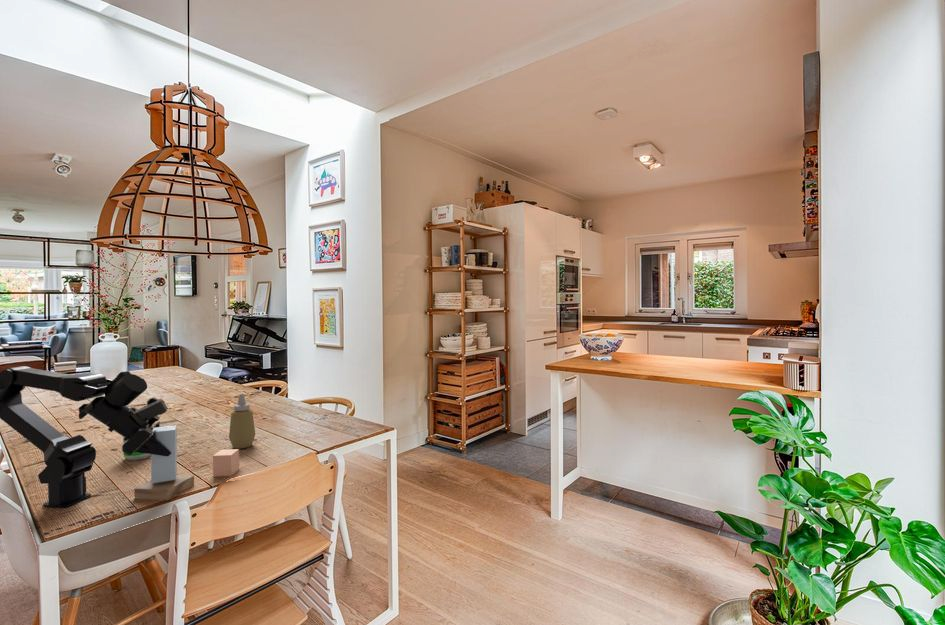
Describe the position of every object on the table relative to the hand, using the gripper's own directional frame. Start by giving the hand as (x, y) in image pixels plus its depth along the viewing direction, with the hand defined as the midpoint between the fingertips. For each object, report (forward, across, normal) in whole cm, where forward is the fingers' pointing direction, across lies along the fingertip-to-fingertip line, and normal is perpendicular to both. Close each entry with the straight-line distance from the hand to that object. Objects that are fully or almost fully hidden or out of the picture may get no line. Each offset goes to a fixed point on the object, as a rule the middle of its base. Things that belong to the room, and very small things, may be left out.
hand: (170, 451), depth 113 cm
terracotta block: (+16, +6, -2) cm, 17 cm away
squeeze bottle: (+20, +29, -5) cm, 36 cm away
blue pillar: (+4, 0, +6) cm, 7 cm away
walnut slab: (+7, 0, +8) cm, 11 cm away
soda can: (0, +35, +15) cm, 38 cm away
